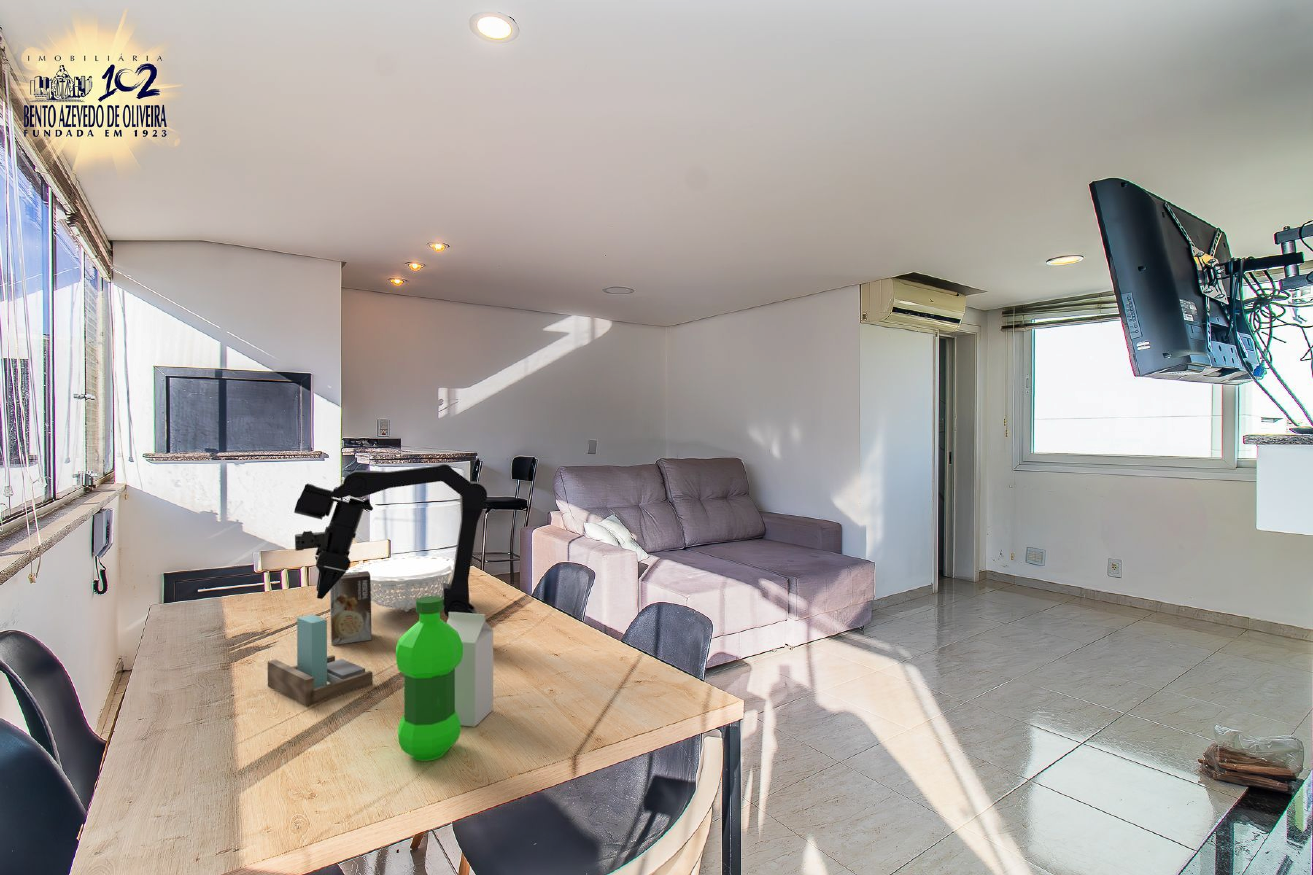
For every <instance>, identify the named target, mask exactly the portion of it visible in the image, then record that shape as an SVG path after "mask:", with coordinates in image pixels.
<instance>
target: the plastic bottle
mask: <svg viewBox="0 0 1313 875" xmlns="http://www.w3.org/2000/svg"><path fill="white" fill-rule="evenodd" d="M418 598H419V597H418ZM415 611H416V614H419V617H418V618H419V620H418V621H416V623H415V624H414V625H413V626H411V627H410V628H409V629H407V631H406V632H405V633H404V634H402V636H400V637H399V638H398V641H397V642H396V646H395V658H396V659H395V661H396V665H397V669H398V671H399V672H400V673H401V674H403V676H404V677H403V678H404V679H403V680H404V682H403V683H404V685H403V687H404V688H403V689H404V690H403V691H404V692H403V693H404V699H403V700H404V701H403V702H404V705H403V707H404V708H403V710H404V711H403V712H404V713H403V716H402V717H401V719H400V721H399V724H398V726H397V735H398V737H397V738H398V744H399V746H400V749H401V751H403V753H405V754H407V755H408V756H411V757H412V758H413V759H415V760H417V761H420V762H428V761H433V760H434V761H435V760H437V759H439V758H442V757H443V756H444V755H445V754H446V753H447V751H448V750H449V749H450V748H451V747H453V745H455V743H456V742H457V741H458V740H459V738H460V735H461V731H462V725H461V724H460V720H459V717H458V714H457V712H456V710H455V668H456V667H457V666H458V664H459V663H460V662H461V660H462V656H463V644H462V641H461V639H460V636H459V634H458V632H457V631H456V630H455V629H453V628H452V627H451V626H450V625H448V624H447V622H445V621H444V620H442V619H441V612H444V609H443V597H441V596H440V597H439V596H431V595H430V596H427V597H421V598H419V599H416V608H415Z"/></svg>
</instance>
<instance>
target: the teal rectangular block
mask: <svg viewBox="0 0 1313 875" xmlns="http://www.w3.org/2000/svg"><path fill="white" fill-rule="evenodd" d="M296 643H297V644H296V647H297V648H296V651H297V652H296V657H297V658H296V662H297V663H296V664H297V670H299V671H301V672H303V673H305V674H307V675H309V676H311V677H314V689H315V688H318V687H321V686H324V685H327V684H328V681H327V657H328V619H326V618H324V617H321V616H317V615H316V614H308V615H303V616H300V617H297V618H296Z"/></svg>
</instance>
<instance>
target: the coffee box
mask: <svg viewBox="0 0 1313 875" xmlns="http://www.w3.org/2000/svg"><path fill="white" fill-rule="evenodd" d="M371 594H372V592H371V580H370V573H369V572H368V571H363V572H352V573H345V574H344V575H343V576H342V577H341V578H340V579H339V580H338V581H337V583H336V584H335V585H334V586H333V587H332V588H331V589H330V591H329V599H330V600H329V601H330V602H329V604H330V605H329V607H330V614H329V615H330V645H331V646H337V645H344V644H350V643H357V642H364V641H371V640H372V639H373V638H372V637H373V633H372V628H373V627H372V601H371Z"/></svg>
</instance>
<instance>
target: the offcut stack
mask: <svg viewBox="0 0 1313 875" xmlns="http://www.w3.org/2000/svg"><path fill="white" fill-rule="evenodd" d="M365 672H366V667H365V668H364V667H363V666H360V665H358V664H356V663H353V662H350V661H348V660H346V659H343V658H340V659H337V660H335V661H333V662H330V663H327V683H328V682H329V684H330V683H333V682H337V681H340V680H343V679H346V678H349V677H352V676H355V675H359V674H362V673H365Z"/></svg>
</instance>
